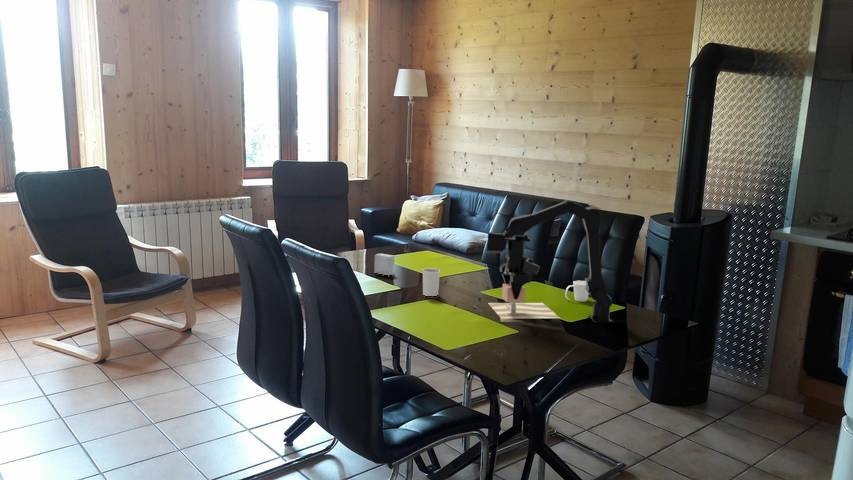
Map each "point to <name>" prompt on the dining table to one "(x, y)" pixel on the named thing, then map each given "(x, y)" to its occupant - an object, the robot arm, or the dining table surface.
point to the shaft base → (521, 311)
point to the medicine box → (384, 264)
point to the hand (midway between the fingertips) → (513, 296)
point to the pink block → (508, 294)
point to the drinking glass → (431, 281)
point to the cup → (579, 291)
